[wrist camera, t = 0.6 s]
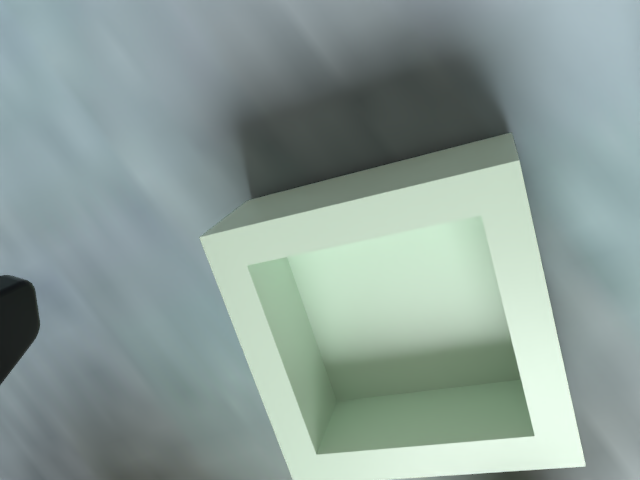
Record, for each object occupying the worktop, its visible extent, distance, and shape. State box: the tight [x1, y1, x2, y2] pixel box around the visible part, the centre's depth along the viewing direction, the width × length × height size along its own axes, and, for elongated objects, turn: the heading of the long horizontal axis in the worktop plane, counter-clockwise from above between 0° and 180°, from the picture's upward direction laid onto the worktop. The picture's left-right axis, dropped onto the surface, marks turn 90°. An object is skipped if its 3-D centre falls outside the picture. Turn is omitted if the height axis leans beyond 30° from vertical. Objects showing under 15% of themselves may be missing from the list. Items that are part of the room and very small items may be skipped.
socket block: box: [199, 132, 586, 480], centre depth 19 cm, size 9×9×4 cm
